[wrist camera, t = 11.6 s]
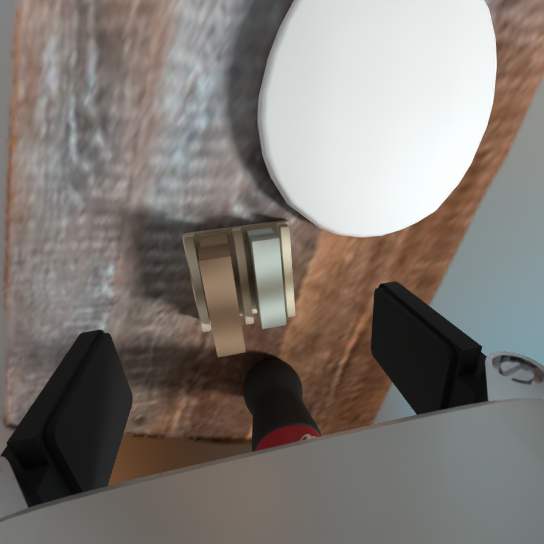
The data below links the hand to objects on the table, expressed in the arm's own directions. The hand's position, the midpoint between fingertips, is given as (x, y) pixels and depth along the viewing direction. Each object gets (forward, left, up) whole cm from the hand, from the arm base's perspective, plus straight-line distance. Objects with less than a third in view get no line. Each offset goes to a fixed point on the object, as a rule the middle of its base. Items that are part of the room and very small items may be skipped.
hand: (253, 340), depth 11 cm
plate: (-9, +18, -29) cm, 35 cm away
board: (+8, -2, -27) cm, 29 cm away
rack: (+8, +1, -28) cm, 30 cm away
